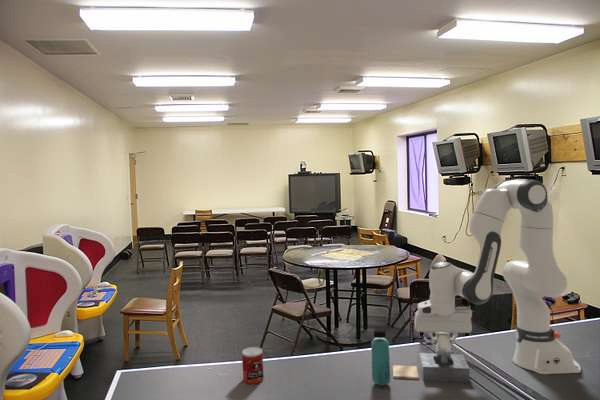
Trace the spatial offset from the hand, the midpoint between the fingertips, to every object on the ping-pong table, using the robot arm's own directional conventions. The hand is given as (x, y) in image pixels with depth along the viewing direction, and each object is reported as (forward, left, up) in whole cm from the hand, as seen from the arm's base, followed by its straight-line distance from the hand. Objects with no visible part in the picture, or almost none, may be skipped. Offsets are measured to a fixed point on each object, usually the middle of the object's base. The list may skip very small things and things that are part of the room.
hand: (443, 343), depth 161 cm
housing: (0, 0, -12) cm, 12 cm away
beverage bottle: (+23, +11, -12) cm, 28 cm away
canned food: (+70, +12, -12) cm, 72 cm away
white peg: (0, 0, -6) cm, 6 cm away
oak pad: (+14, +1, -12) cm, 18 cm away
